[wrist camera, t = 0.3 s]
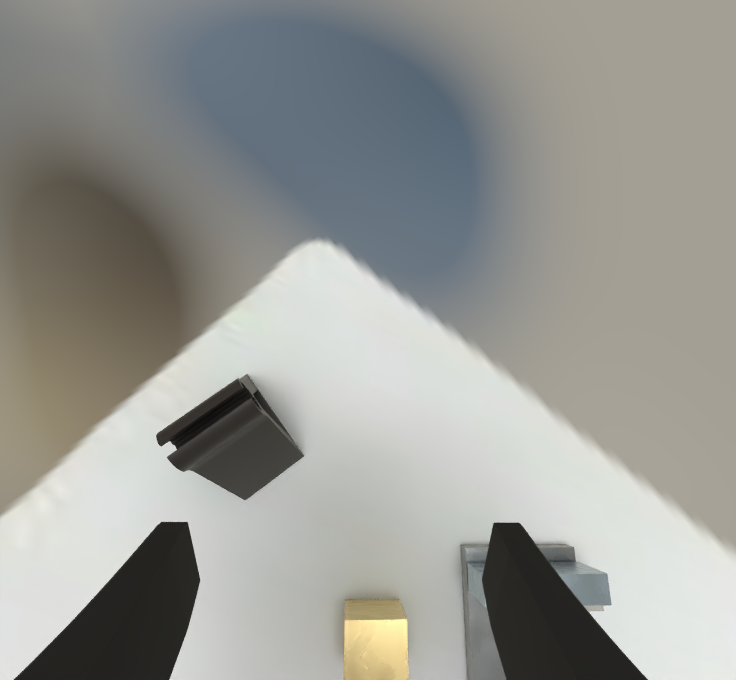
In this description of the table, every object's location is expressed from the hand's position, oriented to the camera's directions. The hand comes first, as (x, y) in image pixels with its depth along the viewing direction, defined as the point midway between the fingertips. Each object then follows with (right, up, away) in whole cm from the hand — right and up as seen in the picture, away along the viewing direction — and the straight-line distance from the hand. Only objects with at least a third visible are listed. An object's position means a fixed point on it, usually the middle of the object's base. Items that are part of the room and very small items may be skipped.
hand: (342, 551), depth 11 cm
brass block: (+1, -18, +25) cm, 30 cm away
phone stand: (-10, -3, +28) cm, 30 cm away
